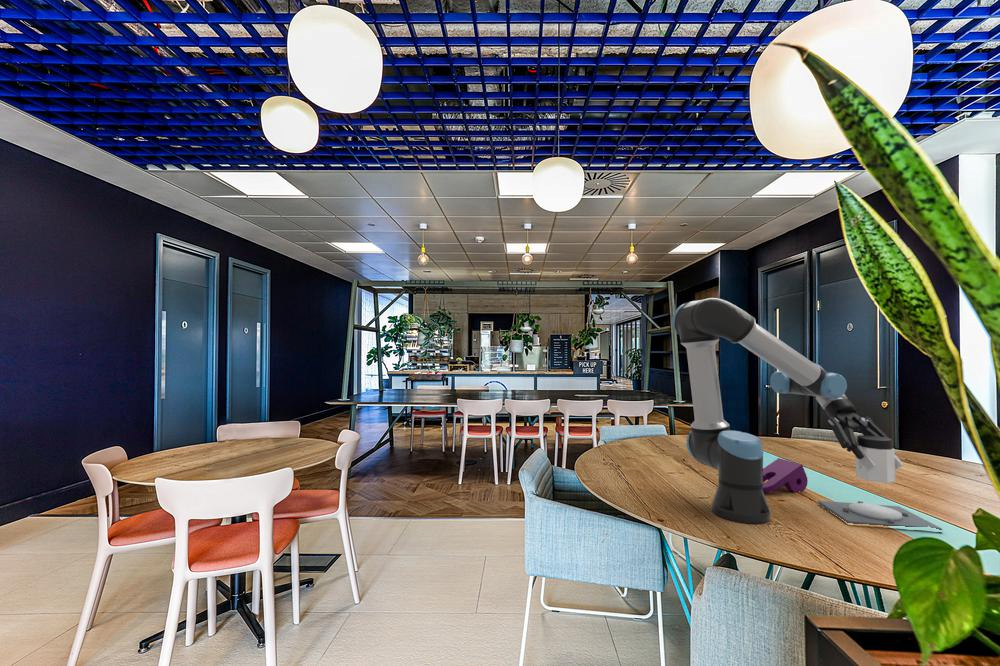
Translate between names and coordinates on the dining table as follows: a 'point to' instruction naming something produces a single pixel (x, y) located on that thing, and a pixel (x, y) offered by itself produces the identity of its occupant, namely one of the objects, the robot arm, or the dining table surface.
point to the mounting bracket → (784, 476)
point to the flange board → (875, 514)
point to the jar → (877, 459)
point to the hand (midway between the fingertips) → (885, 467)
